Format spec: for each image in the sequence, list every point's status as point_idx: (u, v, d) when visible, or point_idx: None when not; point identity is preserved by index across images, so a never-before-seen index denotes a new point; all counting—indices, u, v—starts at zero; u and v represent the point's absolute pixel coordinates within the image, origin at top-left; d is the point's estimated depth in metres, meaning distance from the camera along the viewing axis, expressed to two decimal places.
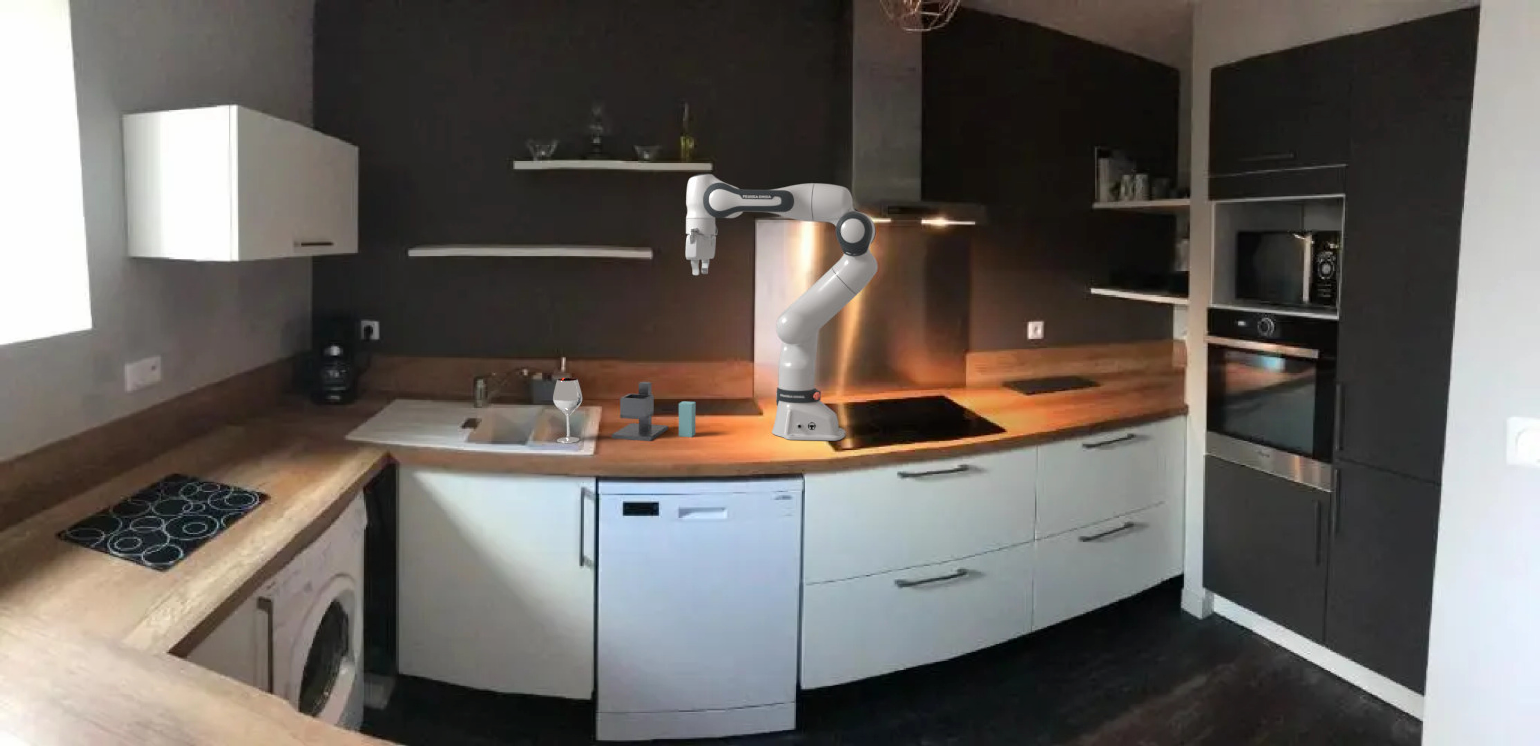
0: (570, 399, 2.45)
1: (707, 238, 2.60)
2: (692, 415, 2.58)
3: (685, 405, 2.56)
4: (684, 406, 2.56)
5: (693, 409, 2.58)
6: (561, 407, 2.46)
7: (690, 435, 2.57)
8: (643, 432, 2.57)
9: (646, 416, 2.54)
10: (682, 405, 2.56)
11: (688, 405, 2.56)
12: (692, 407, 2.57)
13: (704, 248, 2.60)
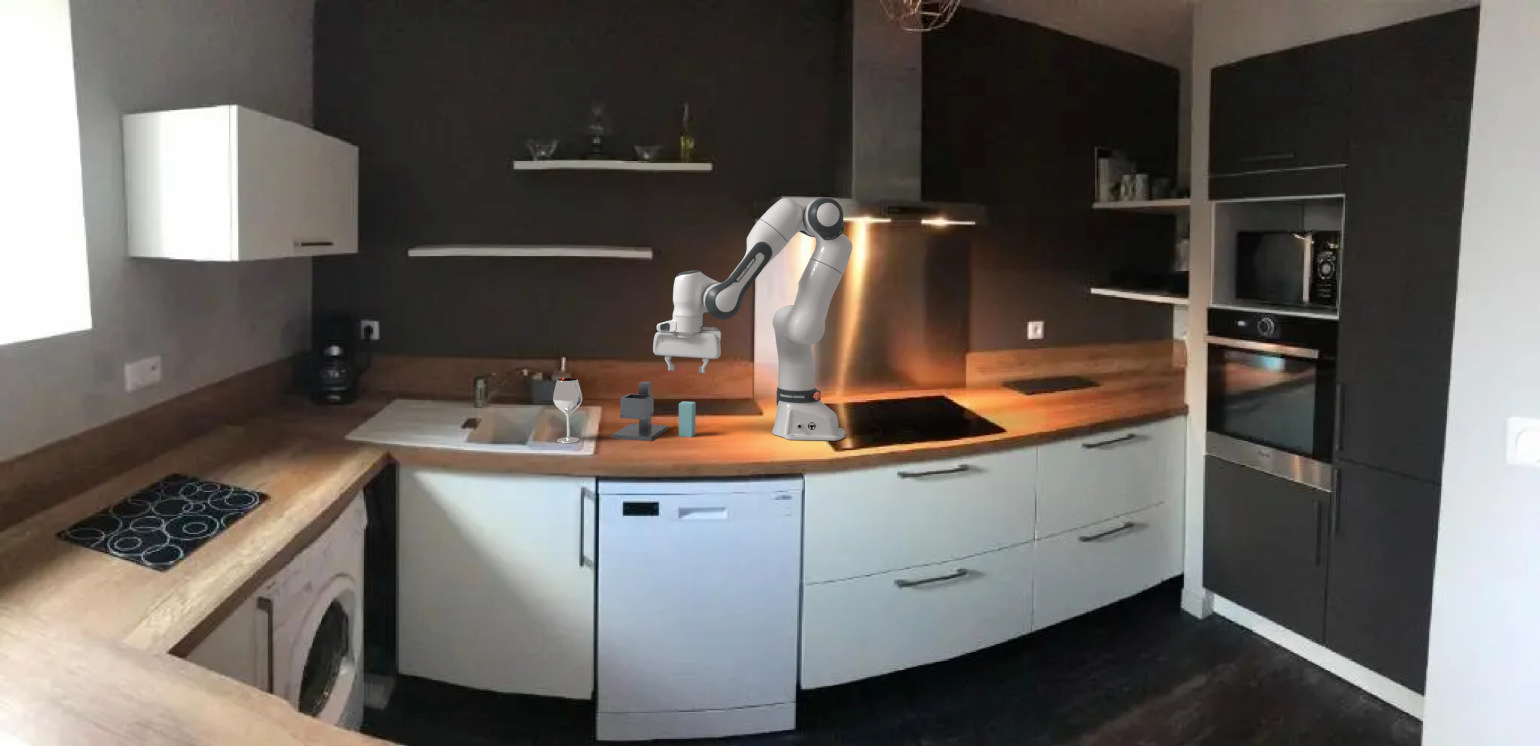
0: (570, 399, 2.45)
1: None
2: (692, 415, 2.58)
3: (685, 405, 2.56)
4: (684, 406, 2.56)
5: (693, 409, 2.58)
6: (561, 407, 2.46)
7: (690, 435, 2.57)
8: (643, 432, 2.57)
9: (646, 416, 2.54)
10: (682, 405, 2.56)
11: (688, 405, 2.56)
12: (692, 407, 2.57)
13: None
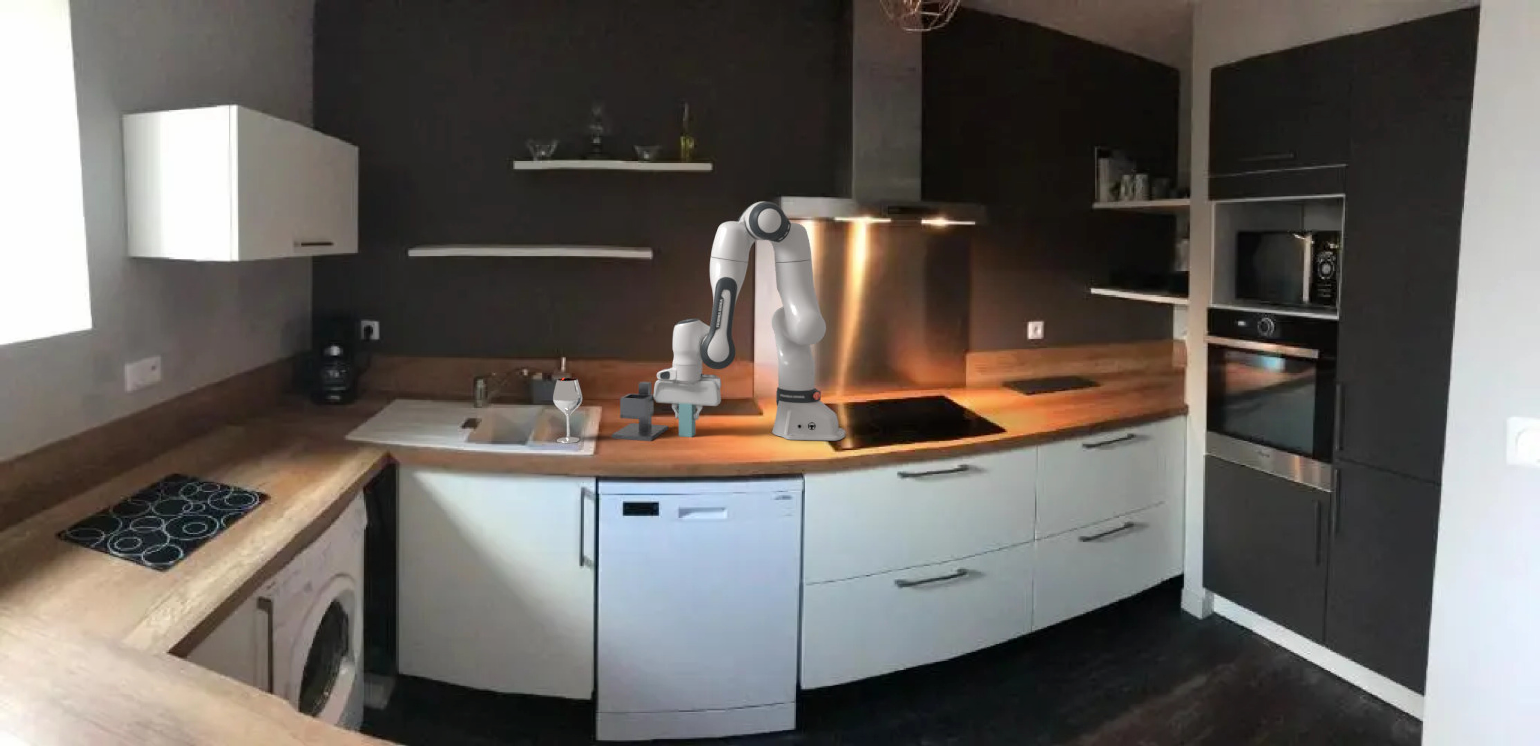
0: (570, 399, 2.45)
1: None
2: (692, 415, 2.58)
3: (685, 405, 2.56)
4: (684, 406, 2.56)
5: (693, 409, 2.58)
6: (561, 407, 2.46)
7: (690, 435, 2.57)
8: (643, 432, 2.57)
9: (646, 416, 2.54)
10: (682, 405, 2.56)
11: (688, 405, 2.56)
12: (692, 407, 2.57)
13: None
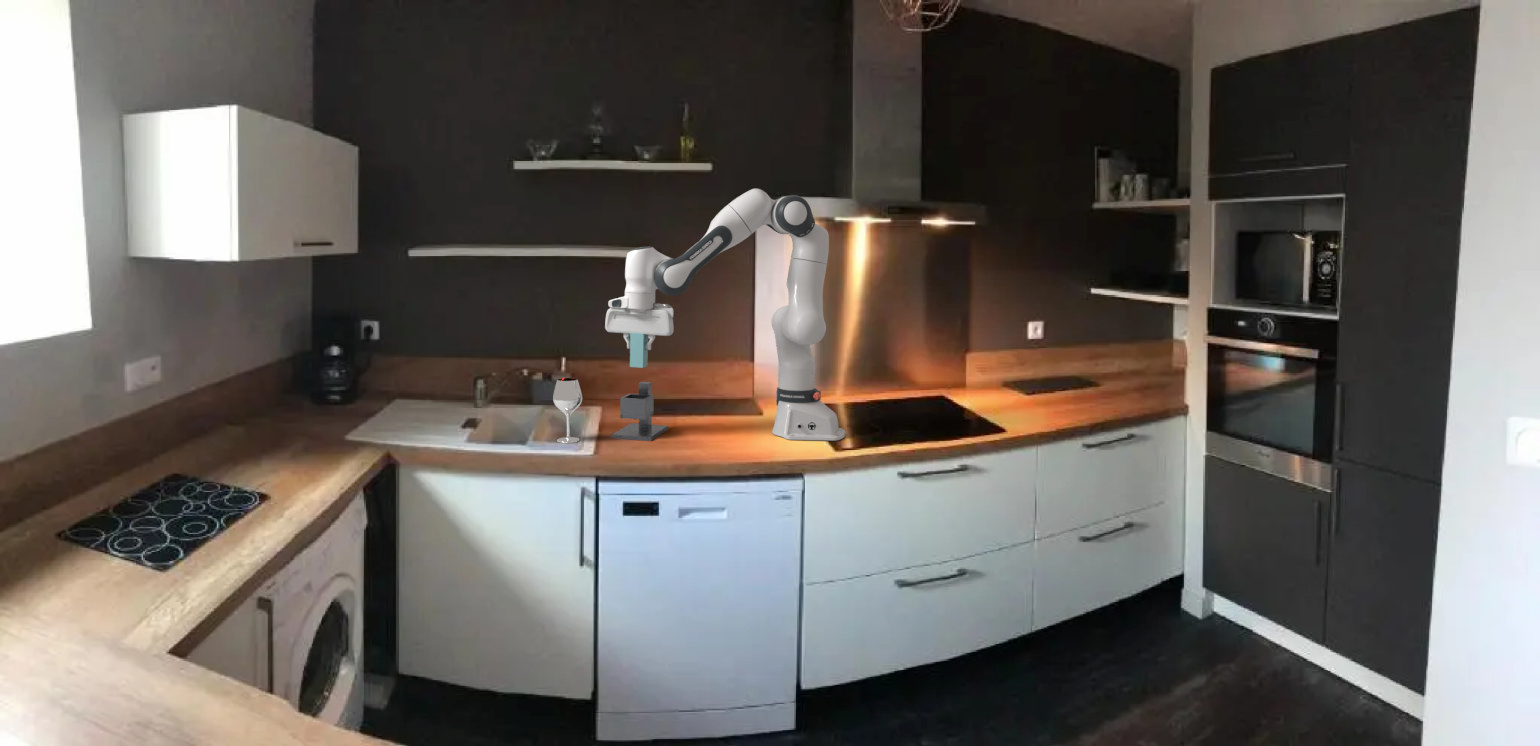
0: (570, 399, 2.45)
1: None
2: (644, 345, 2.52)
3: (637, 334, 2.51)
4: (636, 335, 2.51)
5: (645, 339, 2.52)
6: (561, 407, 2.46)
7: (641, 365, 2.52)
8: (643, 432, 2.57)
9: (646, 416, 2.54)
10: (634, 334, 2.51)
11: (640, 334, 2.51)
12: (644, 337, 2.52)
13: None
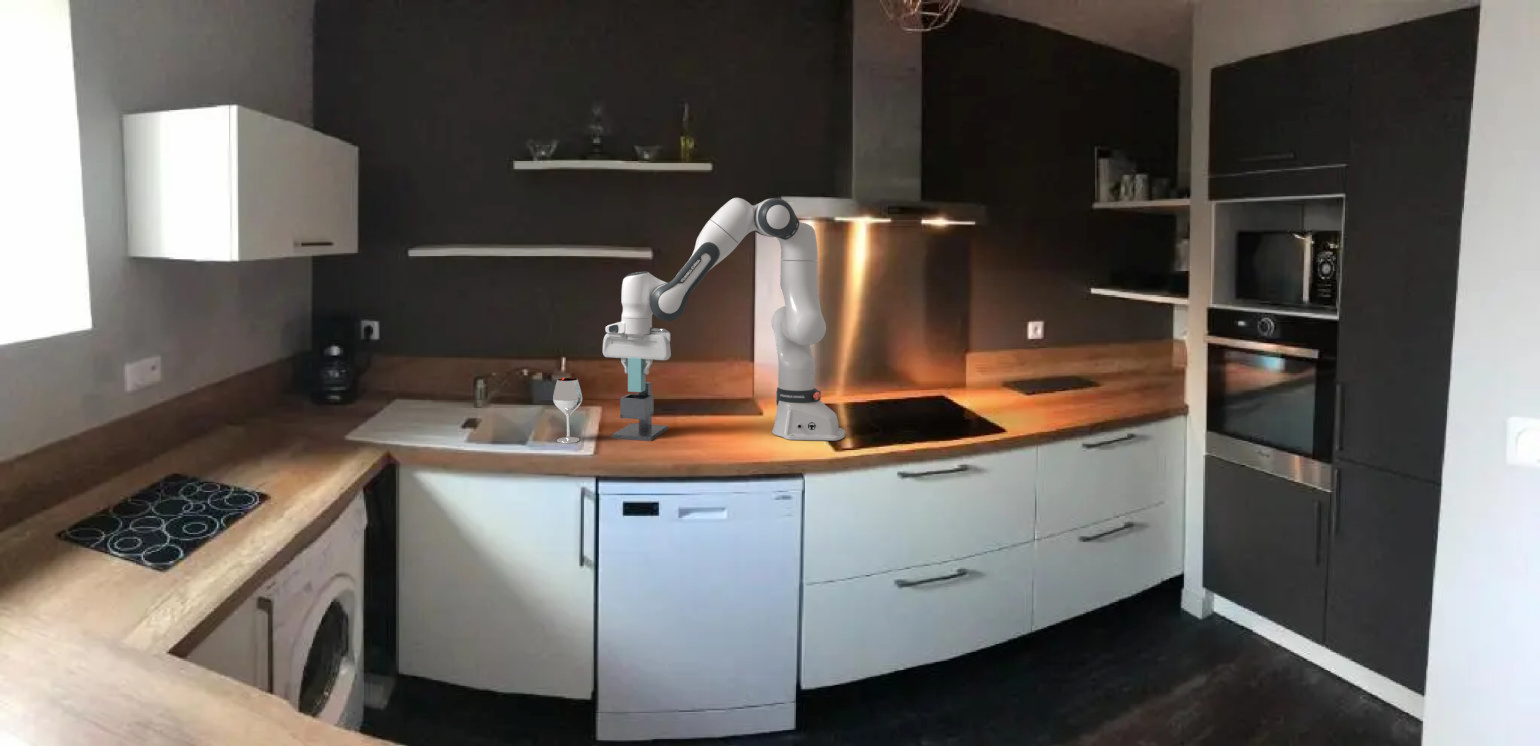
0: (570, 399, 2.45)
1: None
2: None
3: (634, 359, 2.52)
4: (633, 360, 2.52)
5: (642, 363, 2.53)
6: (561, 407, 2.46)
7: (639, 390, 2.53)
8: (643, 432, 2.57)
9: (646, 416, 2.54)
10: (631, 359, 2.52)
11: (637, 359, 2.52)
12: (641, 361, 2.53)
13: None
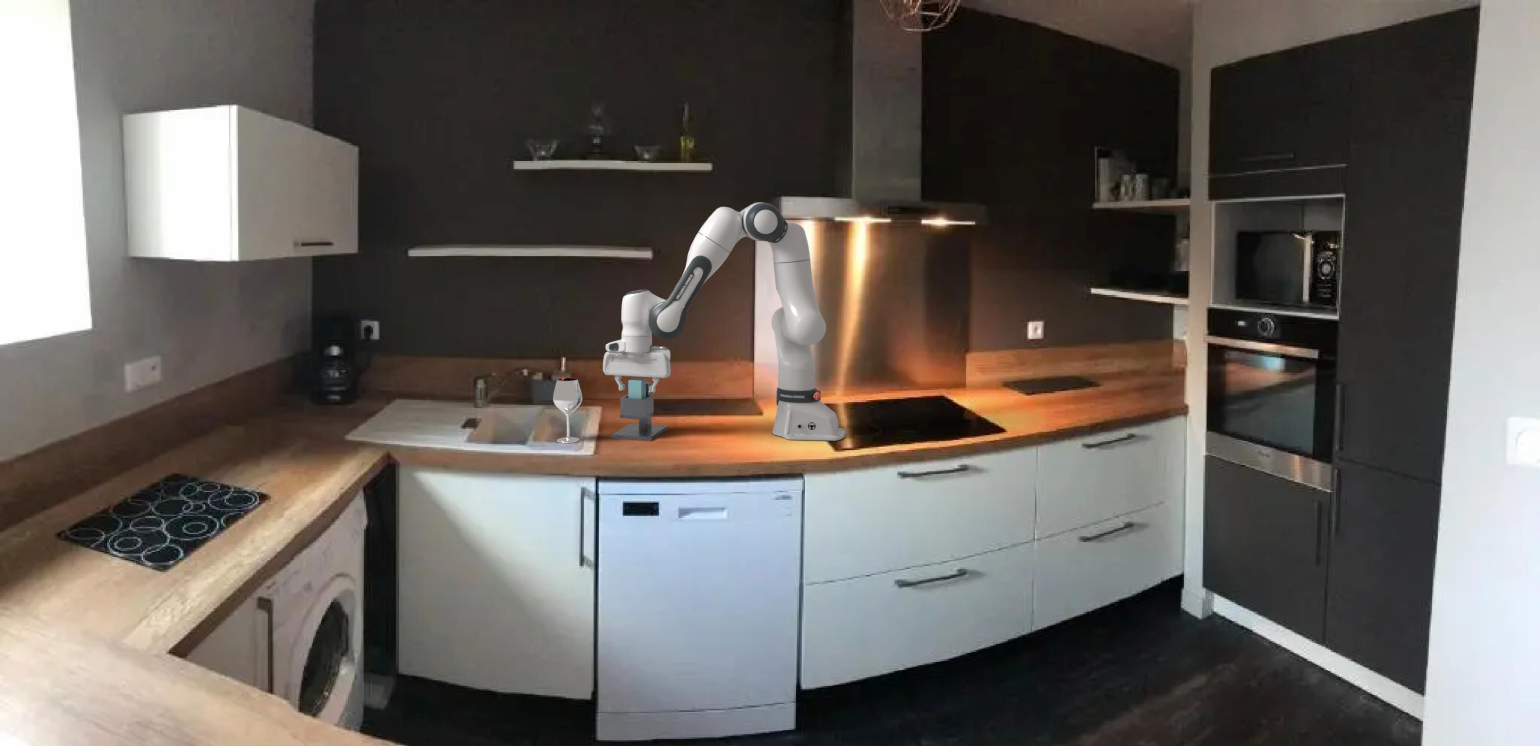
0: (570, 399, 2.45)
1: None
2: (642, 392, 2.54)
3: (635, 382, 2.53)
4: (634, 383, 2.53)
5: (643, 386, 2.54)
6: (561, 407, 2.46)
7: None
8: (643, 432, 2.57)
9: (646, 416, 2.54)
10: (632, 382, 2.53)
11: (638, 382, 2.53)
12: (642, 384, 2.54)
13: None
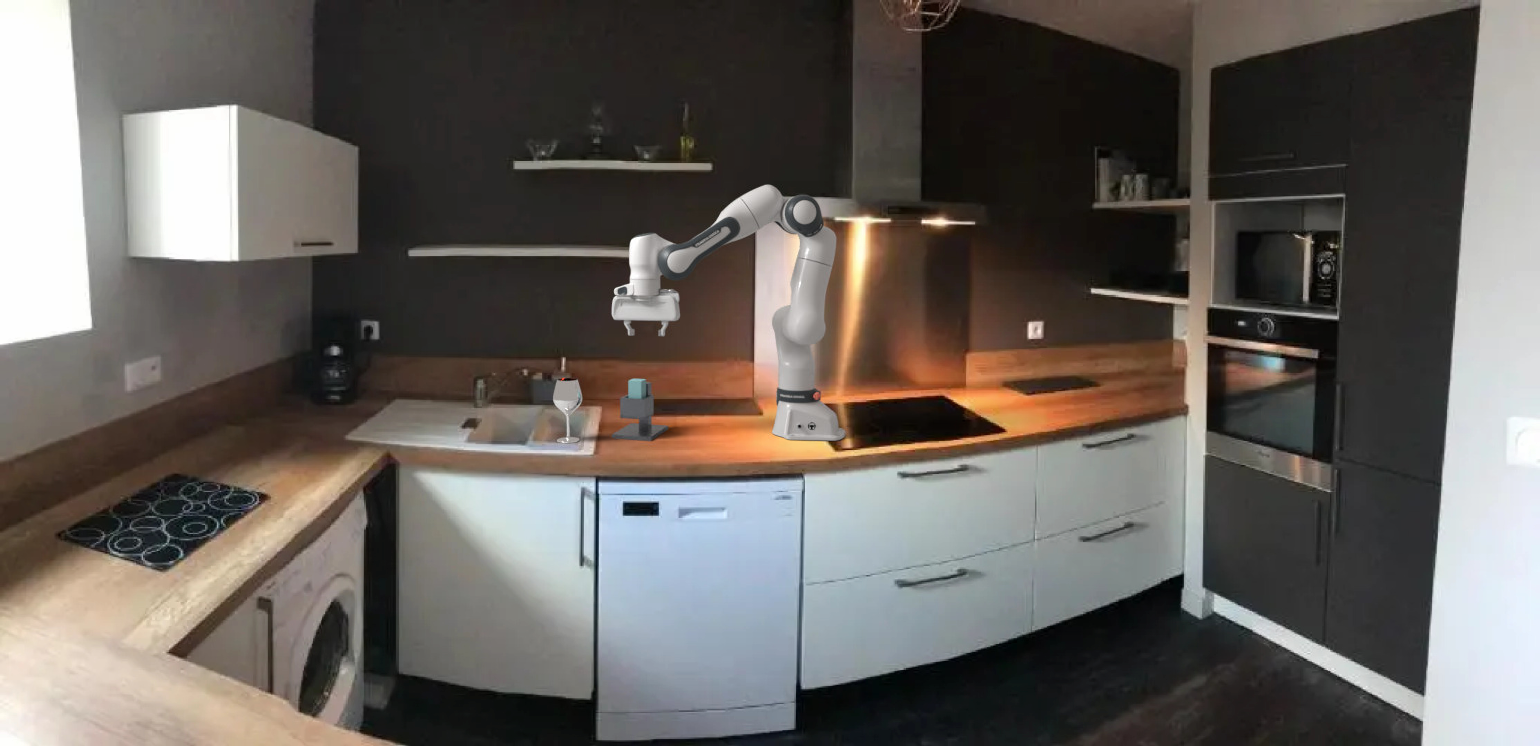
0: (570, 399, 2.45)
1: None
2: (642, 392, 2.54)
3: (635, 382, 2.53)
4: (634, 383, 2.53)
5: (643, 386, 2.54)
6: (561, 407, 2.46)
7: None
8: (643, 432, 2.57)
9: (646, 416, 2.54)
10: (632, 382, 2.53)
11: (638, 382, 2.53)
12: (642, 384, 2.54)
13: None
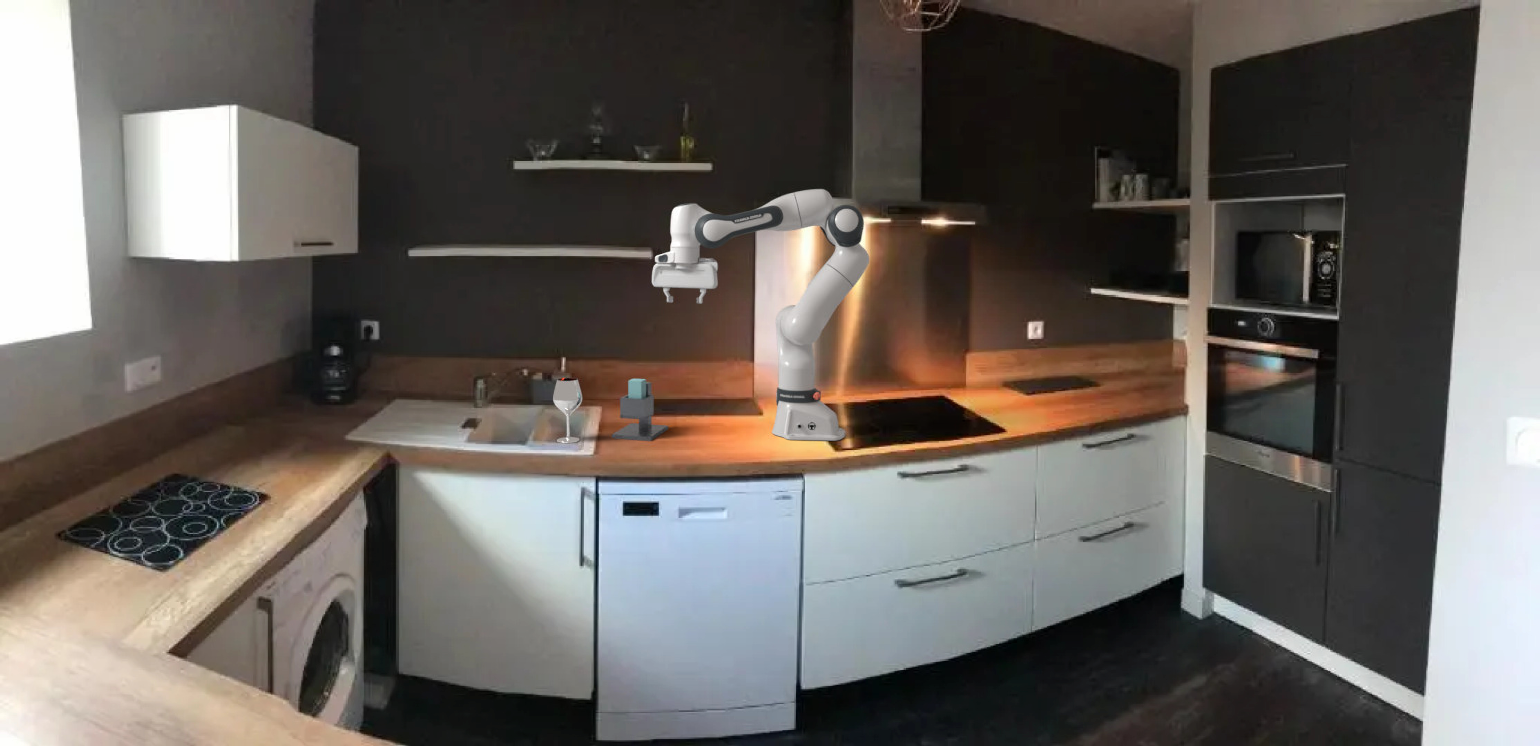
0: (570, 399, 2.45)
1: None
2: (642, 392, 2.54)
3: (635, 382, 2.53)
4: (634, 383, 2.53)
5: (643, 386, 2.54)
6: (561, 407, 2.46)
7: None
8: (643, 432, 2.57)
9: (646, 416, 2.54)
10: (632, 382, 2.53)
11: (638, 382, 2.53)
12: (642, 384, 2.54)
13: None
